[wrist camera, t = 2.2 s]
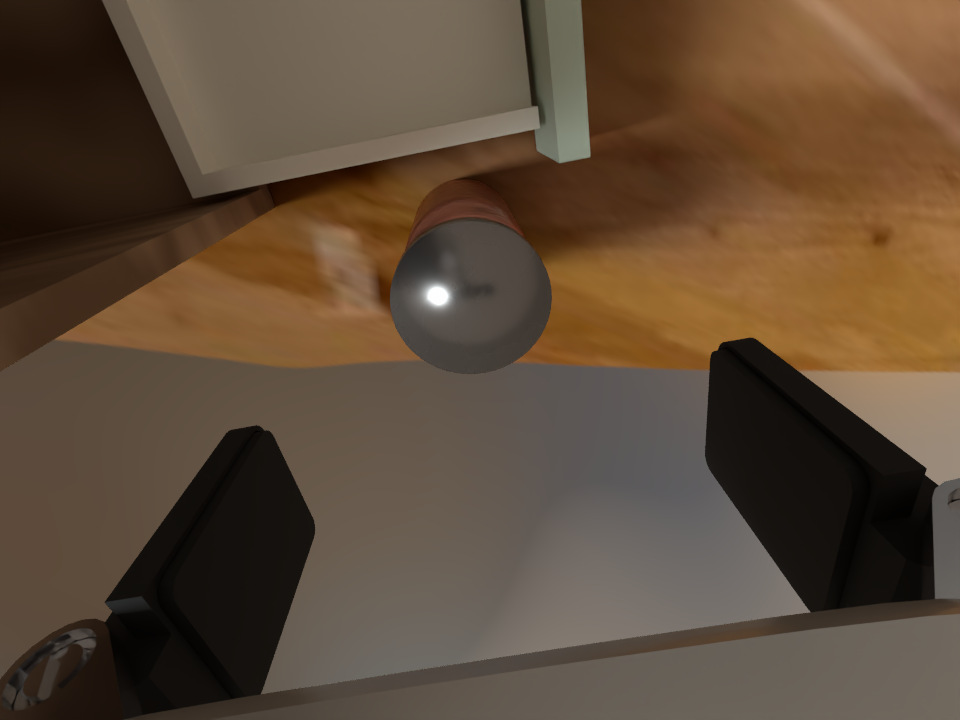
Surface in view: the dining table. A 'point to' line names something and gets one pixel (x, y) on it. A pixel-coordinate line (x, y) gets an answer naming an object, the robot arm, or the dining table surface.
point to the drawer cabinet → (86, 177)
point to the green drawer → (351, 80)
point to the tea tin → (469, 282)
